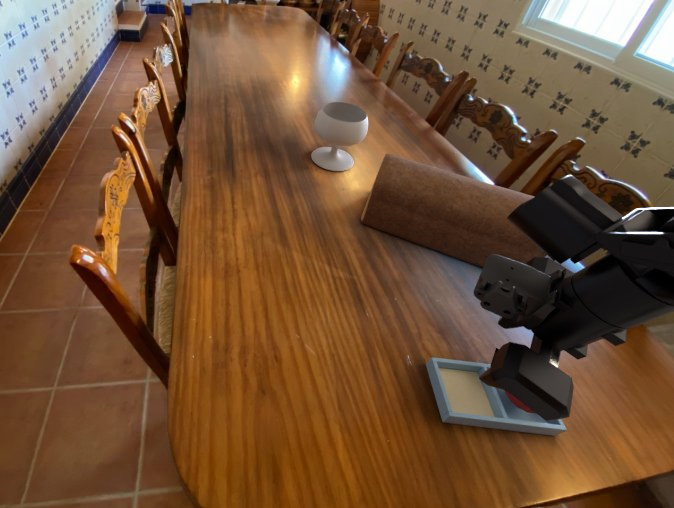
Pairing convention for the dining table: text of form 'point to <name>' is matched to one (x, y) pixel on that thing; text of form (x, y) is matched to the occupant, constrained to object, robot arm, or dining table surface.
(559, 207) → the robot arm
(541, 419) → the divided blue tray
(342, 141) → the chalice
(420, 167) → the bread
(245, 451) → the dining table surface
